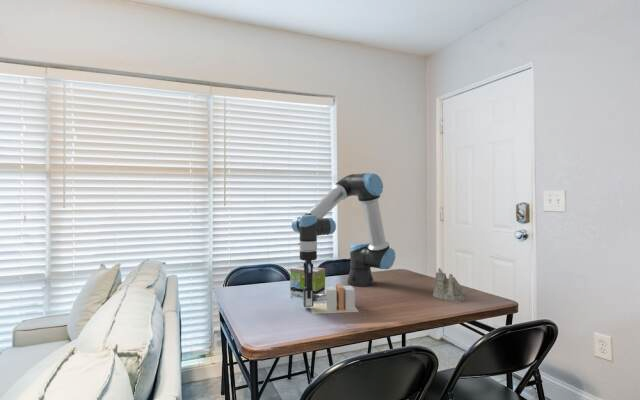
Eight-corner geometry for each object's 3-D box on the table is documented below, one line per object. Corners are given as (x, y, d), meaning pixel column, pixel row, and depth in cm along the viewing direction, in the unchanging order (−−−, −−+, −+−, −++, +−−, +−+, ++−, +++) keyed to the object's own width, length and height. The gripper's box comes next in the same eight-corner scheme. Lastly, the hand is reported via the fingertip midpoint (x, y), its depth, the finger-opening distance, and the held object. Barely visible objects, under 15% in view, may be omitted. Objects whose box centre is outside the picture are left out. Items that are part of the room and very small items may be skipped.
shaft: (343, 302, 159) (343, 286, 159) (345, 305, 155) (345, 289, 155) (303, 304, 157) (303, 288, 157) (304, 306, 153) (304, 290, 153)
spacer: (340, 304, 161) (340, 283, 161) (343, 310, 153) (343, 288, 153) (335, 304, 161) (335, 283, 161) (339, 310, 153) (339, 288, 153)
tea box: (289, 297, 177) (289, 268, 177) (300, 293, 186) (300, 264, 186) (316, 302, 170) (316, 271, 170) (325, 296, 179) (325, 267, 179)
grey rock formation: (456, 303, 167) (456, 270, 168) (426, 297, 180) (426, 267, 181) (472, 298, 177) (472, 268, 178) (442, 293, 190) (442, 265, 191)
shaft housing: (351, 305, 165) (351, 283, 165) (358, 315, 151) (358, 291, 151) (308, 307, 162) (308, 285, 162) (312, 317, 148) (312, 293, 148)
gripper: (298, 247, 163) (298, 298, 163) (301, 253, 146) (301, 310, 146) (314, 247, 164) (314, 298, 164) (319, 253, 147) (319, 309, 147)
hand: (308, 303), depth 155 cm, fingers closed on shaft, 4 cm apart
